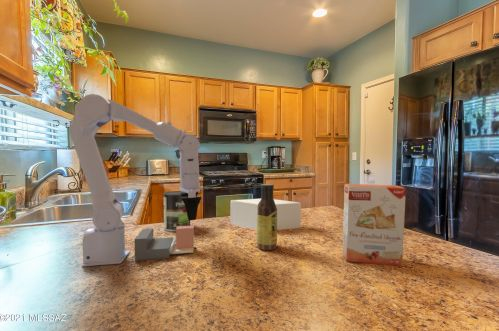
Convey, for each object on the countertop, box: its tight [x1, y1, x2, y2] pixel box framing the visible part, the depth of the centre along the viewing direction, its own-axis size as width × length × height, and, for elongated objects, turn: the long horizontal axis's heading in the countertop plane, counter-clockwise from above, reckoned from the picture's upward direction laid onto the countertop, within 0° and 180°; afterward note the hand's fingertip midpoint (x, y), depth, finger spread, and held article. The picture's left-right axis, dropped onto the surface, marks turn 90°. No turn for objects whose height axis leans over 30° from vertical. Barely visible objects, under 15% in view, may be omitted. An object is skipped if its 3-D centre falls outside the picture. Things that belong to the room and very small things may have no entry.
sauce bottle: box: [256, 183, 278, 251], centre depth 73 cm, size 7×6×20 cm
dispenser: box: [133, 227, 176, 262], centre depth 69 cm, size 10×9×6 cm
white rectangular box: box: [229, 198, 302, 231], centre depth 96 cm, size 14×29×10 cm, turn 81°
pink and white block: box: [170, 225, 195, 255], centre depth 69 cm, size 16×6×7 cm, turn 101°
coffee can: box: [162, 190, 191, 233], centre depth 93 cm, size 10×10×14 cm
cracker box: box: [342, 183, 407, 267], centre depth 64 cm, size 14×6×21 cm, turn 79°
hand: (191, 216), depth 73 cm, fingers open, 7 cm apart
